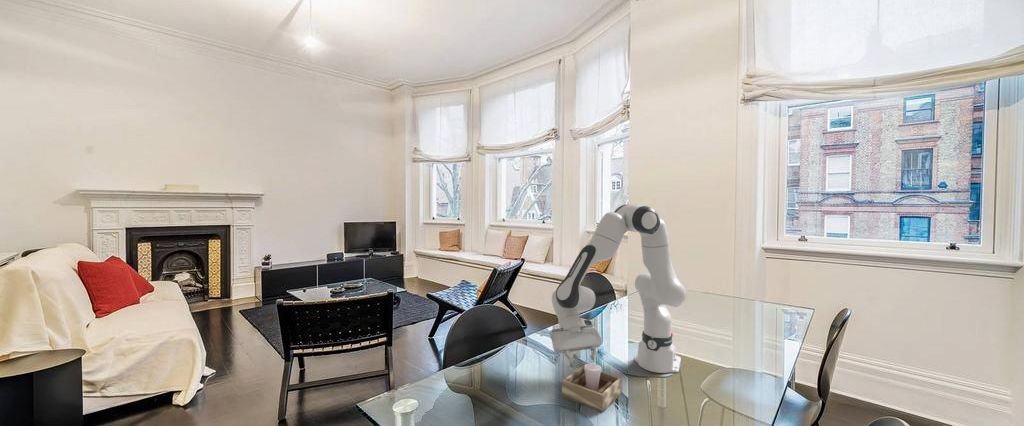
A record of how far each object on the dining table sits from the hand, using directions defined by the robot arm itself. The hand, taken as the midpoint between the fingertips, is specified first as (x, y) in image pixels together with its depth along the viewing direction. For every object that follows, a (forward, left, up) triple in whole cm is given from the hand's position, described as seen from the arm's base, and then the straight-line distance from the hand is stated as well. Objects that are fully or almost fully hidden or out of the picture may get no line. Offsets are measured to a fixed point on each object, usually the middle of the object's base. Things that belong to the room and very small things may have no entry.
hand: (583, 360), depth 151 cm
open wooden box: (+3, +5, -10) cm, 12 cm away
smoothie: (+3, +5, -9) cm, 11 cm away
